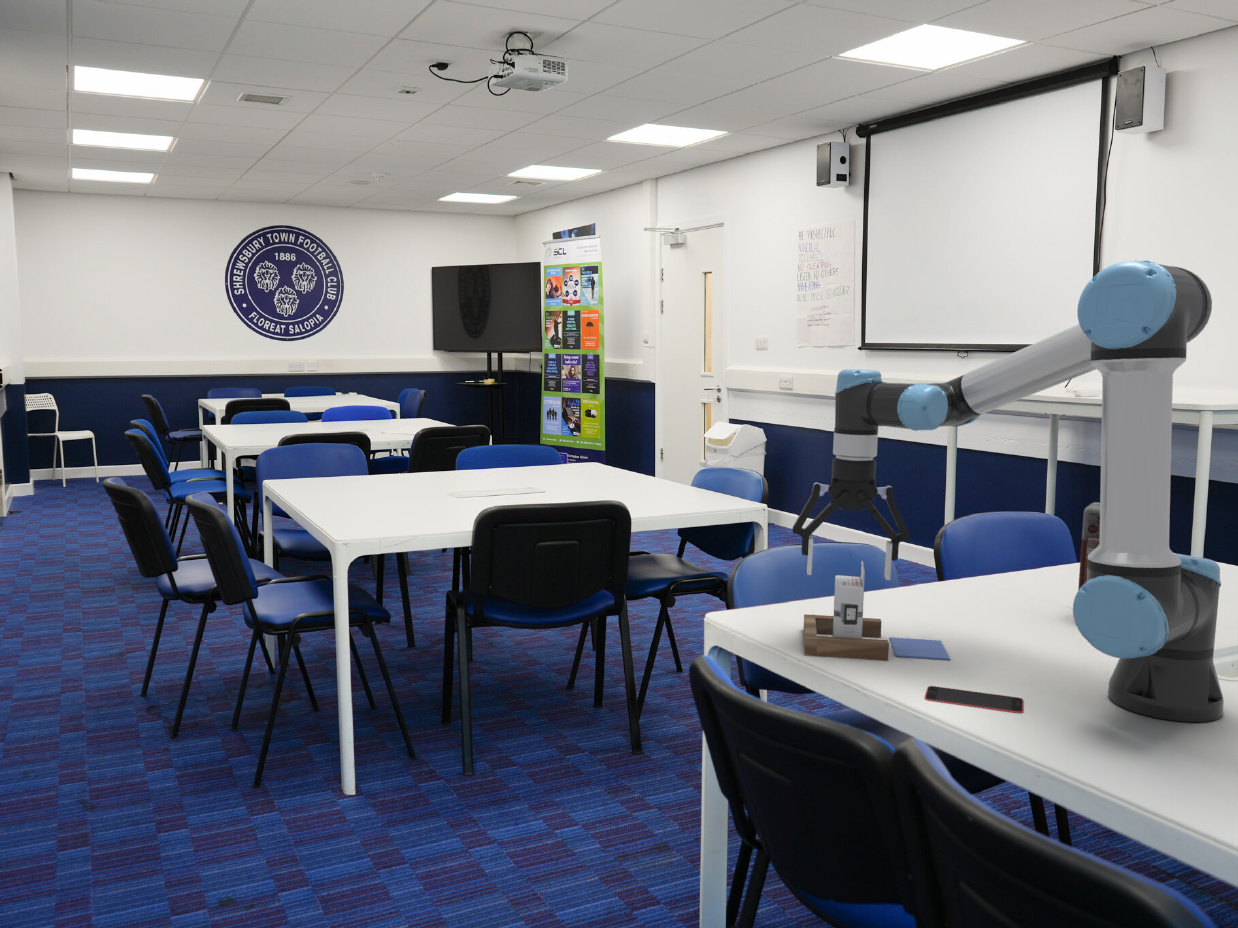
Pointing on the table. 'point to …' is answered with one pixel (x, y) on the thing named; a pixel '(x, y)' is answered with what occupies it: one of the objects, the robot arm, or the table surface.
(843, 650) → the bay
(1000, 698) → the smartphone
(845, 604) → the ink box
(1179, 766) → the table surface
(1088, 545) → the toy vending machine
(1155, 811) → the table surface
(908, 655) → the pad
